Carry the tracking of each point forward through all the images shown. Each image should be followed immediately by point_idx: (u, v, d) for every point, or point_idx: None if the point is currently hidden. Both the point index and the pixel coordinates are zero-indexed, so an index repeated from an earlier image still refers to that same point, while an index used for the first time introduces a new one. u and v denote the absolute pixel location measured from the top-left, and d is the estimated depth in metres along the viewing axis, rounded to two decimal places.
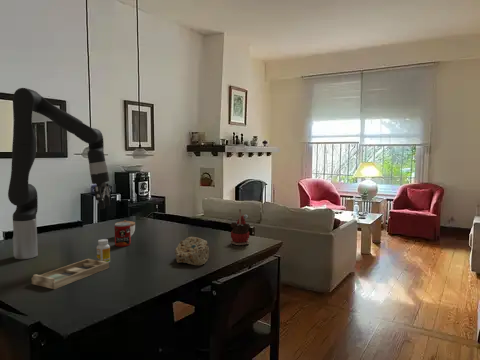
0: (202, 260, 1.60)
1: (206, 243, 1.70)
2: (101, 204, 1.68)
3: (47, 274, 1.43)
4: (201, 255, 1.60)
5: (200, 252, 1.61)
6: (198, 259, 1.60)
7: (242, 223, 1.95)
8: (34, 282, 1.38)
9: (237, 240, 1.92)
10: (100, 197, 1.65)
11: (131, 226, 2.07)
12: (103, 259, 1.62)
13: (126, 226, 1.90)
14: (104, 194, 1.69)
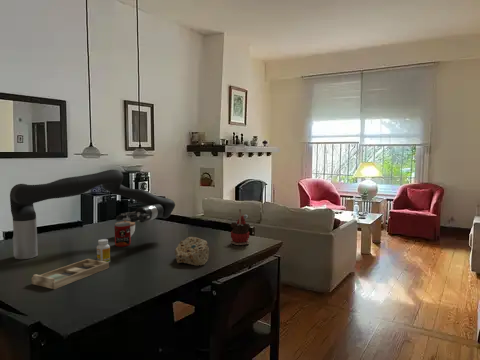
0: (202, 260, 1.60)
1: (206, 243, 1.70)
2: (135, 219, 1.75)
3: (47, 274, 1.43)
4: (201, 255, 1.60)
5: (200, 252, 1.60)
6: (198, 259, 1.60)
7: (242, 223, 1.95)
8: (34, 282, 1.38)
9: (237, 240, 1.92)
10: (143, 220, 1.77)
11: (131, 226, 2.07)
12: (103, 259, 1.62)
13: (126, 226, 1.90)
14: None
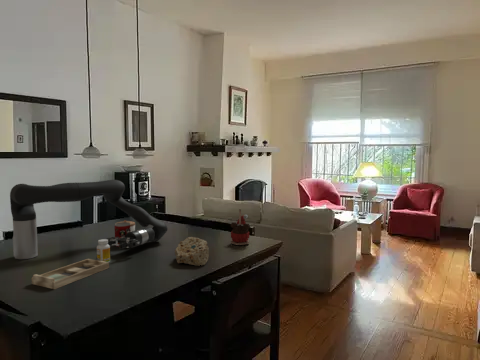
0: (203, 260, 1.60)
1: (206, 243, 1.69)
2: (124, 246, 1.69)
3: (47, 274, 1.43)
4: (202, 255, 1.60)
5: (201, 252, 1.60)
6: (199, 259, 1.59)
7: (242, 223, 1.95)
8: (34, 282, 1.38)
9: (237, 240, 1.92)
10: (133, 246, 1.71)
11: (131, 226, 2.07)
12: (103, 259, 1.62)
13: (126, 226, 1.90)
14: None
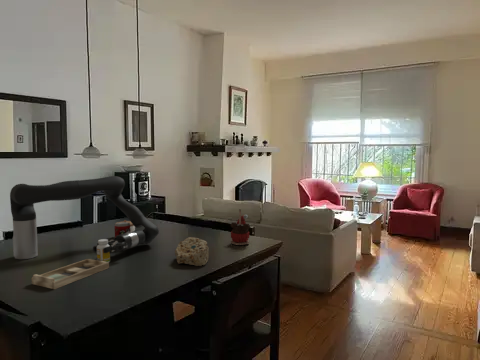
0: (203, 260, 1.60)
1: (206, 243, 1.69)
2: (109, 250, 1.62)
3: (47, 274, 1.43)
4: (202, 255, 1.60)
5: (201, 252, 1.60)
6: (199, 259, 1.59)
7: (242, 223, 1.95)
8: (34, 282, 1.38)
9: (237, 240, 1.92)
10: (118, 250, 1.64)
11: (131, 226, 2.07)
12: (103, 259, 1.62)
13: (126, 226, 1.90)
14: None
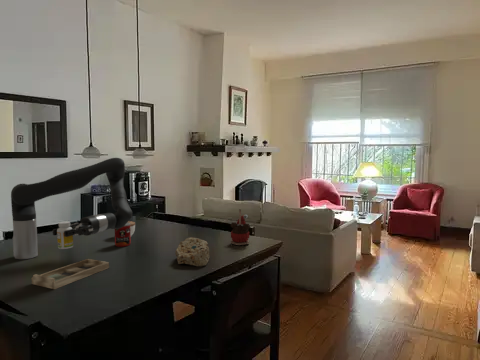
0: (204, 261, 1.59)
1: (206, 244, 1.69)
2: (71, 233, 1.42)
3: (47, 274, 1.43)
4: (203, 256, 1.59)
5: (202, 253, 1.59)
6: (200, 260, 1.59)
7: (242, 223, 1.95)
8: (34, 282, 1.38)
9: (237, 240, 1.92)
10: (82, 234, 1.44)
11: (131, 226, 2.07)
12: (64, 244, 1.42)
13: (126, 226, 1.90)
14: (78, 234, 1.46)
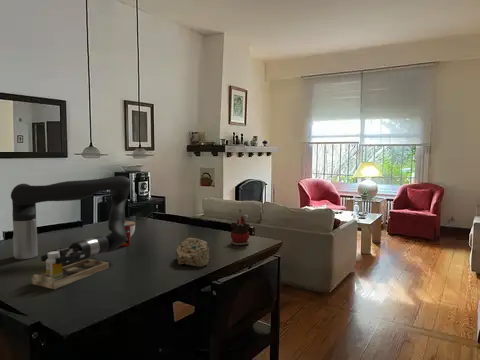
0: (205, 261, 1.59)
1: (206, 244, 1.69)
2: (63, 261, 1.38)
3: None
4: (204, 256, 1.59)
5: (203, 253, 1.59)
6: (201, 260, 1.58)
7: (242, 223, 1.95)
8: (34, 282, 1.38)
9: (237, 240, 1.92)
10: (74, 261, 1.40)
11: (131, 226, 2.07)
12: (53, 275, 1.38)
13: (126, 226, 1.90)
14: None
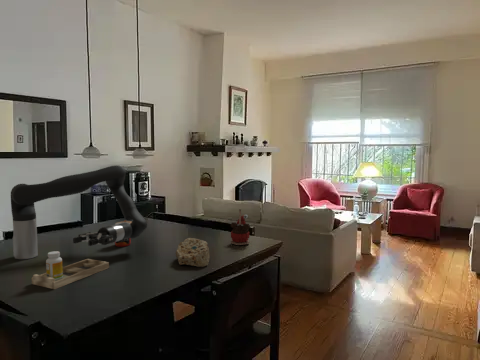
0: (205, 261, 1.59)
1: (206, 244, 1.68)
2: (95, 243, 1.51)
3: None
4: (204, 256, 1.59)
5: (203, 253, 1.59)
6: (201, 260, 1.58)
7: (242, 223, 1.95)
8: (34, 282, 1.38)
9: (237, 240, 1.92)
10: (104, 243, 1.53)
11: None
12: (53, 275, 1.38)
13: None
14: (99, 243, 1.56)
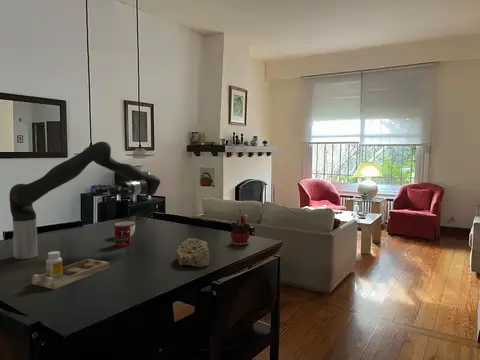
0: (206, 261, 1.59)
1: (206, 244, 1.68)
2: (116, 193, 1.65)
3: None
4: (205, 256, 1.59)
5: (204, 253, 1.59)
6: (202, 260, 1.58)
7: (242, 223, 1.95)
8: (34, 282, 1.38)
9: (237, 240, 1.92)
10: (124, 194, 1.68)
11: (131, 226, 2.07)
12: (53, 275, 1.38)
13: (126, 226, 1.90)
14: None
